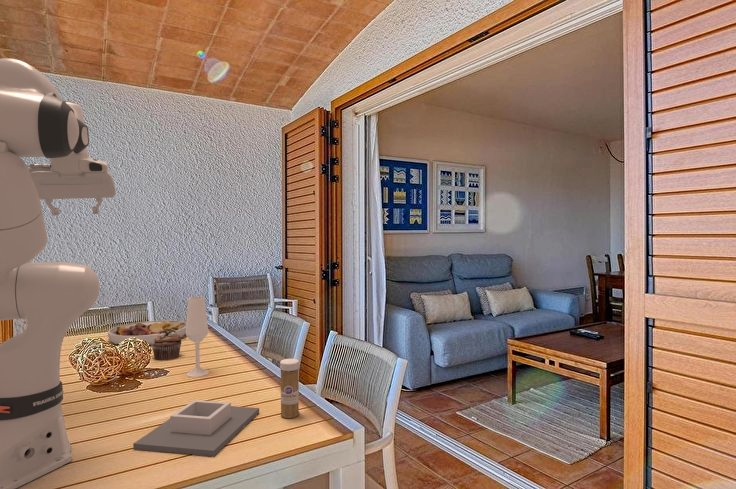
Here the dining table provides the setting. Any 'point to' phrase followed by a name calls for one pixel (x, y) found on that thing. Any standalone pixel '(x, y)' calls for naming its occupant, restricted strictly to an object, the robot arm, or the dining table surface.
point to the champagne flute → (197, 329)
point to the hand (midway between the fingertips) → (76, 214)
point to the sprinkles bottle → (289, 388)
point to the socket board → (198, 428)
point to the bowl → (145, 330)
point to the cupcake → (166, 345)
